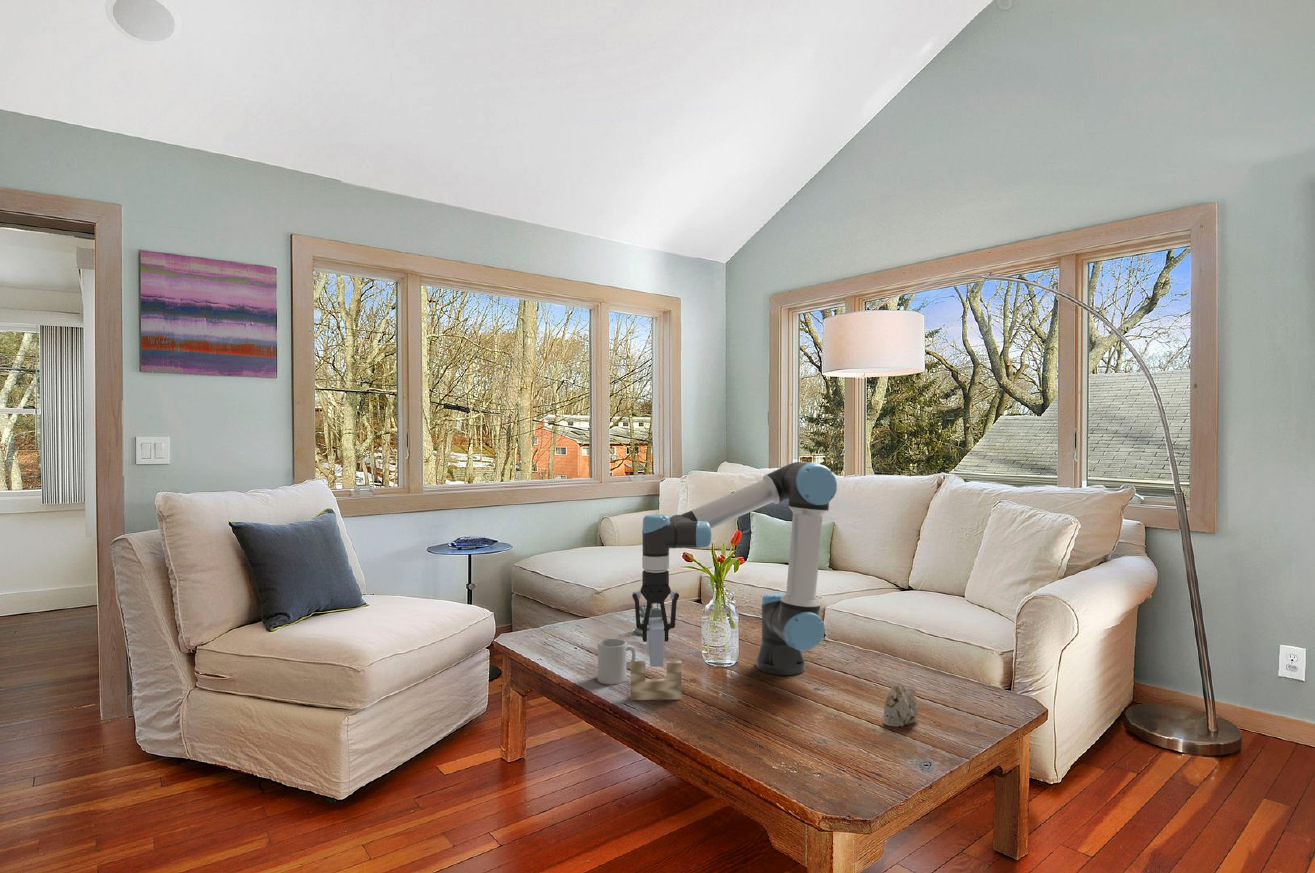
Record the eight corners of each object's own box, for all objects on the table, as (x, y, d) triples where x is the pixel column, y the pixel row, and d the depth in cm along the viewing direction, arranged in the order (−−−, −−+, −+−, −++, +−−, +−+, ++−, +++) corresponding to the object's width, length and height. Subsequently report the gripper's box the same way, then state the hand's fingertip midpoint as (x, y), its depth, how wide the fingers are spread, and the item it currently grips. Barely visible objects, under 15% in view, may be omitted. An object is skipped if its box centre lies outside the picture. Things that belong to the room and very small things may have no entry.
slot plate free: (649, 652, 196) (649, 617, 196) (661, 652, 196) (661, 617, 196) (650, 666, 184) (650, 629, 184) (663, 666, 184) (663, 629, 184)
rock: (905, 728, 168) (906, 685, 171) (880, 724, 172) (881, 682, 176) (927, 730, 176) (927, 689, 179) (902, 726, 180) (903, 686, 184)
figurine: (633, 628, 259) (633, 597, 259) (662, 628, 260) (662, 596, 260) (636, 637, 248) (636, 603, 248) (665, 636, 249) (665, 603, 249)
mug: (604, 686, 199) (604, 648, 199) (593, 677, 207) (593, 640, 207) (641, 679, 205) (641, 642, 205) (628, 670, 212) (628, 635, 212)
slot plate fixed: (681, 696, 191) (681, 660, 191) (681, 699, 189) (681, 662, 189) (630, 697, 191) (630, 661, 191) (630, 699, 189) (630, 663, 189)
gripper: (683, 567, 198) (683, 648, 198) (626, 567, 198) (626, 649, 198) (686, 572, 191) (685, 656, 191) (626, 572, 190) (625, 657, 190)
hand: (655, 652), depth 194 cm, fingers closed on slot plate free, 3 cm apart
